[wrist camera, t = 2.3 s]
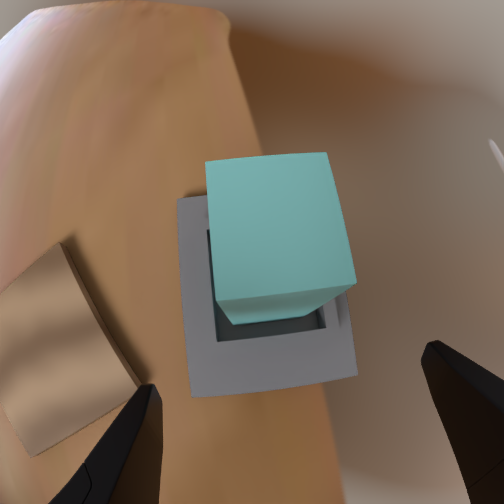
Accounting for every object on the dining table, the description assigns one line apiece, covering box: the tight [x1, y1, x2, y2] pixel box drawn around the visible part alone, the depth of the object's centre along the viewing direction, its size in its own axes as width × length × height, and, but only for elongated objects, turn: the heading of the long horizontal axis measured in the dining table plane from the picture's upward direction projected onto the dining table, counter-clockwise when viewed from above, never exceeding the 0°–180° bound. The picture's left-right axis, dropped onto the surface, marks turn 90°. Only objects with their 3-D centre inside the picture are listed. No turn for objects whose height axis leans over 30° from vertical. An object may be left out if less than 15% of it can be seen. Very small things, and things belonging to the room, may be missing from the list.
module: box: [205, 152, 357, 326], centre depth 16 cm, size 5×4×11 cm
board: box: [0, 242, 141, 458], centre depth 19 cm, size 13×13×1 cm
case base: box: [177, 195, 358, 397], centre depth 20 cm, size 14×11×3 cm
